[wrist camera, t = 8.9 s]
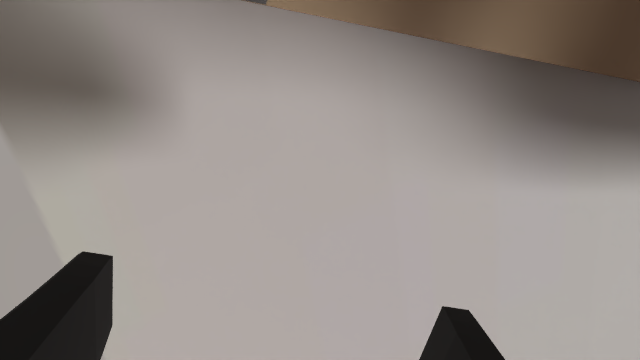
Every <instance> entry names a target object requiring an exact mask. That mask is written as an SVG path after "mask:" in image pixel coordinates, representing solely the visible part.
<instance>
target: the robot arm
mask: <svg viewBox="0 0 640 360" xmlns="http://www.w3.org/2000/svg"><path fill="white" fill-rule="evenodd" d="M112 289H113V256H109V255H103V254H96V253H90V252H81V253H80V254H78V255H77V256H76V257H75V258H73V259H72V260H71V261H70V262H69V263H68V264H67V265H65V266H64V267H63V268H62V269H61V270H60V271H59V272H57V273H56V274H55V275H54V276H53V277H52V278H50V279H49V280H48V281H47V282H46V283H45V284H43V285H42V286H41V287H40V288H39V289H37V290H36V291H35V292H34V293H33V294H31V295H30V296H29V297H28V298H27V299H25V300H24V301H23V302H22V303H20V304H19V305H18V306H17V307H15V308H14V309H13V310H12V311H10V312H9V313H8V314H7V315H5V316H4V317H3V318H2V319H0V360H100V359H101V356H102V354H103V351H104V348H105V345H106V342H107V339H108V336H109V333H110V331H111V328H112ZM419 360H505V359H504V357H503V356H502V355H501V353H500V352H499V351H498V349H497V348H496V347H495V345H494V344H493V342H492V341H491V340H490V338H489V337H488V336H487V334H486V333H485V331H484V330H483V329H482V327H481V326H480V325H479V323H478V322H477V321H476V319H475V318H474V317H473V315H472V314H471V313H470V311H469V310H464V309H457V308H451V307H444V306H442V309H441V311H440V313H439V316H438V318H437V320H436V322H435V325H434V327H433V329H432V332H431V334H430V336H429V339H428V341H427V343H426V346H425V348H424V350H423V353H422V355H421V357H420V359H419Z"/></svg>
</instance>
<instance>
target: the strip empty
mask: <svg viewBox="0 0 640 360" xmlns="http://www.w3.org/2000/svg"><path fill="white" fill-rule="evenodd" d="M242 1H247V2H252V3H257V4H262V5H267V6H272V7H276V8H281V9H286V10H291V11H296V12H301V13H306V14H311V15H316V16H320V17H325V18H330V19H335V20H340V21H345V22H350V23H355V24H359V25H364V26H369V27H374V28H379V29H384V30H389V31H394V32H399V33H403V34H408V35H413V36H418V37H423V38H428V39H433V40H438V41H442V42H447V43H452V44H457V45H462V46H467V47H472V48H477V49H482V50H486V51H491V52H496V53H501V54H506V55H511V56H516V57H521V58H525V59H530V60H535V61H540V62H545V63H550V64H555V65H560V66H564V67H569V68H574V69H579V70H584V71H589V72H594V73H599V74H604V75H608V76H613V77H618V78H623V79H628V80H633V81H638V82H640V0H242Z"/></svg>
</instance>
